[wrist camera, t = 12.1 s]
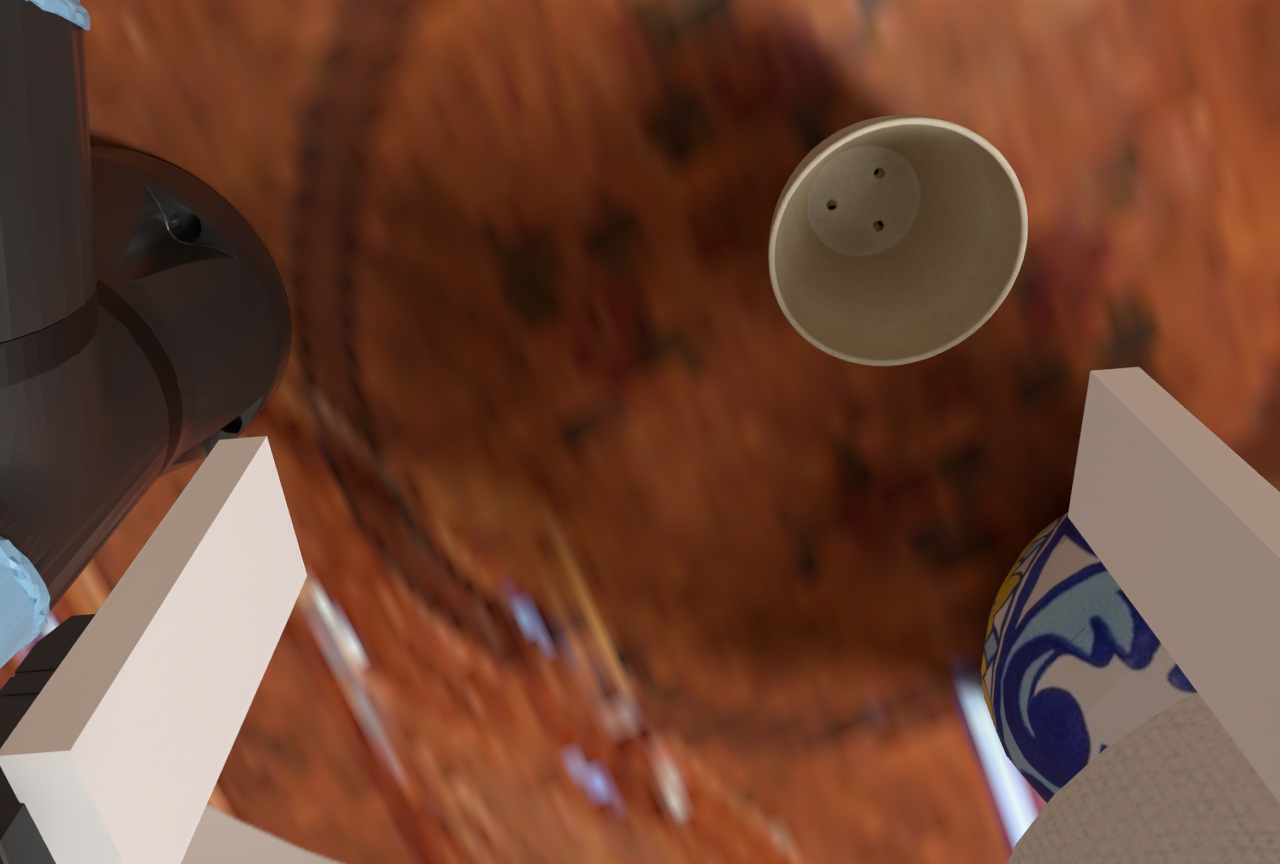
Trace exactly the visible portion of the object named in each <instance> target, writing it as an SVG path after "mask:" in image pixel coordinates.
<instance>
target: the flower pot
mask: <svg viewBox="0 0 1280 864" xmlns="http://www.w3.org/2000/svg"><path fill="white" fill-rule="evenodd" d="M876 169H879V170H878V173H877V174H876V175H875V174H874V173H875V170H876ZM831 205H835V206H836V207H835V208H834V209H829V208H828V207H829V206H831ZM878 221H881V222H882V224H883V226H880V225H879V224H878ZM1027 233H1028V218H1027V208H1026V203H1025V198H1024V194H1023V191H1022V188H1021V186H1020V183H1019V181H1018V178H1017V176H1016V174H1015V173H1014V171H1013V169H1012V168H1011V166H1010V165H1009V163H1008V162H1007V161H1006V159H1005V158H1004V157H1003V155H1002V154H1001V153H1000V152H999V151H998V150H997V149H996V148H995V147H994V146H993V145H991V144H990V143H989V142H988V141H987V140H985V139H984V138H982V137H981V136H979V135H978V134H976V133H975V132H973V131H971V130H969V129H967V128H965V127H963V126H960V125H957V124H955V123H952V122H948V121H945V120H941V119H937V118H933V117H927V116H919V115H889V116H881V117H876V118H871V119H867V120H864V121H860V122H857V123H855V124H852V125H850V126H847V127H845V128H843V129H841V130H839V131H837V132H836V133H834V134H832V135H831V136H829V137H828V138H826V139H825V140H823V141H822V142H821V143H820V144H818V145H817V146H816V147H815V148H813V149H812V150H811V151H810V152H809V153H808V154H807V155H806V156H805V158H804V159H803V160H802V161H801V162H800V163H799V165H798V166H797V167H796V169H795V170H794V171H793V173H792V174H791V176H790V177H789V179H788V181H787V183H786V184H785V186H784V188H783V190H782V192H781V195H780V197H779V200H778V202H777V205H776V208H775V211H774V215H773V218H772V223H771V228H770V235H769V246H768V261H769V272H770V279H771V283H772V287H773V291H774V294H775V296H776V299H777V302H778V304H779V306H780V308H781V310H782V312H783V313H784V315H785V316H786V318H787V319H788V321H789V322H790V323H791V325H792V326H793V327H794V328H795V330H796V331H797V332H798V333H799V334H800V335H801V336H802V337H803V338H805V339H806V340H807V341H808V342H810V343H811V344H812V345H814V346H815V347H817V348H818V349H820V350H822V351H823V352H826V353H828V354H829V355H832V356H834V357H837V358H839V359H842V360H845V361H848V362H852V363H857V364H862V365H871V366H895V365H903V364H908V363H913V362H917V361H920V360H924V359H927V358H930V357H932V356H935V355H937V354H940V353H942V352H944V351H946V350H948V349H950V348H952V347H953V346H955V345H957V344H959V343H960V342H962V341H963V340H965V339H966V338H968V337H969V336H970V335H972V334H973V333H974V332H975V331H977V330H978V329H979V328H980V327H981V326H982V325H983V324H984V323H985V322H986V321H987V320H988V319H989V318H990V317H991V316H992V315H993V313H994V312H995V311H996V310H997V309H998V307H999V306H1000V305H1001V304H1002V302H1003V301H1004V299H1005V298H1006V296H1007V295H1008V293H1009V291H1010V290H1011V288H1012V286H1013V284H1014V282H1015V280H1016V277H1017V275H1018V273H1019V270H1020V267H1021V264H1022V262H1023V258H1024V254H1025V250H1026V243H1027Z"/></svg>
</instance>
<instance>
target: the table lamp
mask: <svg viewBox="0 0 1280 864" xmlns="http://www.w3.org/2000/svg"><path fill="white" fill-rule="evenodd" d="M981 676H982V684H983V692H984V698H985V701H986V704H987V707H988V709H989V712H990V715H991V718H992V721H993V723H994V726H995V729H996V732H997V734H998V737H999V739H1000V741H1001V744H1002V746H1003V748H1004V751H1005V753H1006V755H1007V757H1008V758H1009V759H1010V760H1011V762H1012V763H1013V764H1014V765H1015V767H1016V768H1017V769H1018V770H1019V772H1020V773H1021V774H1022V775H1023V777H1024V778H1025V779H1026V780H1027V781H1028V782H1029V783H1030V785H1031V786H1032V787H1033V788H1034V789H1035V790H1036V791H1037V793H1038V794H1039V795H1040V796H1041V797H1042V798H1043V799H1044V801H1045V802H1046V803H1047V805H1046V806H1045V807H1044V809H1043V810H1042V811H1041V812H1040V814H1039V815H1038V816H1037V818H1036V819H1035V820H1034V822H1033V823H1032V824H1031V825H1030V827H1029V828H1028V829H1027V831H1026V832H1025V833H1024V835H1023V836H1022V837H1021V839H1020V840H1019V841H1018V842H1017V844H1016V846H1015V848H1014V850H1013V852H1012V854H1011V856H1010V858H1009V861H1008V863H1007V864H1280V803H1279V802H1278V800H1277V799H1276V798H1275V796H1274V795H1273V794H1272V792H1271V791H1270V789H1269V788H1268V787H1267V785H1266V784H1265V783H1264V781H1263V780H1262V779H1261V777H1260V776H1259V775H1258V773H1257V772H1256V771H1255V769H1254V768H1253V766H1252V765H1251V764H1250V762H1249V761H1248V760H1247V758H1246V757H1245V756H1244V754H1243V753H1242V752H1241V750H1240V749H1239V747H1238V746H1237V745H1236V743H1235V742H1234V741H1233V739H1232V738H1231V737H1230V735H1229V734H1228V733H1227V731H1226V730H1225V729H1224V727H1223V726H1222V724H1221V723H1220V722H1219V720H1218V719H1217V718H1216V716H1215V715H1214V714H1213V712H1212V711H1211V710H1210V708H1209V707H1208V706H1207V704H1206V703H1205V701H1204V700H1203V699H1202V697H1201V696H1200V695H1199V693H1198V692H1197V691H1196V689H1195V688H1194V687H1193V685H1192V684H1191V683H1190V681H1189V680H1188V678H1187V677H1186V676H1185V674H1184V673H1183V672H1182V670H1181V669H1180V668H1179V666H1178V665H1177V664H1176V662H1175V661H1174V659H1173V658H1172V657H1171V655H1170V654H1169V653H1168V651H1167V650H1166V649H1165V647H1164V646H1163V645H1162V643H1161V642H1160V641H1159V639H1158V638H1157V636H1156V635H1155V634H1154V632H1153V631H1152V630H1151V628H1150V627H1149V626H1148V624H1147V623H1146V622H1145V620H1144V619H1143V618H1142V616H1141V615H1140V613H1139V612H1138V611H1137V609H1136V608H1135V607H1134V605H1133V604H1132V603H1131V601H1130V600H1129V599H1128V597H1127V596H1126V595H1125V593H1124V592H1123V590H1122V589H1121V588H1120V586H1119V585H1118V584H1117V582H1116V581H1115V580H1114V578H1113V577H1112V576H1111V574H1110V573H1109V572H1108V570H1107V569H1106V567H1105V566H1104V565H1103V563H1102V562H1101V561H1100V559H1099V558H1098V557H1097V555H1096V554H1095V553H1094V551H1093V550H1092V548H1091V547H1090V546H1089V544H1088V543H1087V542H1086V540H1085V539H1084V538H1083V536H1082V535H1081V534H1080V532H1079V531H1078V530H1077V528H1076V527H1075V525H1074V524H1073V523H1072V521H1071V520H1070V519H1069V517H1068V512H1067V513H1066V514H1064V515H1062V516H1060V517H1059V518H1058V519H1056V520H1055V521H1054V522H1052V523H1051V524H1050V525H1049V526H1047V527H1046V528H1045V529H1043V530H1042V531H1041V532H1040V533H1039V534H1038V535H1037V536H1036V537H1035V538H1034V539H1033V540H1032V541H1031V542H1030V543H1029V544H1028V546H1027V547H1026V548H1025V549H1024V550H1023V551H1022V553H1021V554H1020V556H1019V557H1018V559H1017V561H1016V562H1015V564H1014V565H1013V567H1012V568H1011V570H1010V572H1009V574H1008V575H1007V577H1006V579H1005V581H1004V582H1003V584H1002V586H1001V588H1000V589H999V592H998V594H997V597H996V599H995V602H994V605H993V607H992V610H991V612H990V615H989V621H988V627H987V633H986V640H985V646H984V653H983V660H982V668H981Z"/></svg>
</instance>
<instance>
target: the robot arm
mask: <svg viewBox="0 0 1280 864" xmlns="http://www.w3.org/2000/svg"><path fill="white" fill-rule="evenodd" d="M84 30H90V16H89V14H88V11H87V10H86V9H85V8H84V7H83V6H82V5H81V3H80V0H0V668H1V667H2V666H3V665H4V664H5V663H6V662H7V661H8V660H9V659H10V658H11V657H12V656H13V655H14V654H16V653H17V652H18V651H19V650H20V649H21V648H22V647H23V646H25V645H27V644H28V643H30V642H31V641H32V640H33V639H34V638H36V637H37V636H38V634H39V633H40V631H41V630H42V629H43V627H44V626H45V625H46V624H47V623H48V622H47V620H46V618H47V617H48V616H49V615H50V611H51V610H52V609H53V608H54V606H55V605H56V604H57V603H58V601H59V600H60V599H61V598H62V596H63V595H64V594H65V593H66V591H67V590H68V589H69V588H70V586H71V585H72V584H73V583H74V581H75V580H76V579H77V578H78V576H79V575H80V574H81V573H82V571H83V570H84V569H85V568H86V566H87V565H88V564H89V563H90V562H91V560H92V559H93V558H94V557H95V555H96V554H97V553H98V552H99V550H100V549H101V548H102V547H103V545H104V544H105V543H106V542H107V540H108V539H109V538H110V537H111V535H112V534H113V533H114V532H115V530H116V529H117V528H118V527H119V525H120V524H121V523H122V522H123V520H124V519H125V518H126V517H127V515H128V514H129V513H130V512H131V510H132V509H133V508H134V507H135V505H136V504H137V503H138V502H139V500H140V499H141V498H142V497H143V495H144V494H145V493H146V492H147V490H148V489H149V488H150V487H151V485H152V484H153V483H154V482H155V481H156V479H157V478H159V477H161V476H163V475H166V474H168V473H170V472H173V471H175V470H177V469H180V468H182V467H184V466H187V465H189V464H191V463H194V462H196V461H198V460H201V459H203V458H205V457H207V458H206V459H205V461H204V462H203V464H202V465H201V466H200V468H199V469H198V471H197V472H196V473H195V475H194V476H193V478H192V479H191V480H190V482H189V483H188V485H187V486H186V488H185V489H184V490H183V492H182V493H181V495H180V496H179V497H178V499H177V500H176V502H175V503H174V504H173V506H172V507H171V509H170V510H169V512H168V513H167V514H166V516H165V517H164V519H163V520H162V521H161V523H160V524H159V526H158V527H157V528H156V530H155V531H154V533H153V534H152V536H151V537H150V538H149V540H148V541H147V543H146V544H145V545H144V547H143V548H142V550H141V551H140V552H139V554H138V555H137V557H136V558H135V560H134V561H133V562H132V564H131V565H130V567H129V568H128V569H127V571H126V572H125V574H124V575H123V576H122V578H121V579H120V581H119V582H118V584H117V585H116V586H115V588H114V589H113V591H112V592H111V593H110V595H109V596H108V598H107V599H106V600H105V602H104V603H103V605H102V606H101V608H100V609H99V610H98V612H97V613H96V614H90V615H77V616H71V617H70V618H68V619H67V620H66V621H64V622H63V623H62V624H60V625H59V626H58V627H57V628H55V629H54V630H53V631H51V632H50V633H49V634H47V635H46V636H45V637H44V638H42V639H41V640H40V641H38V642H37V643H36V644H35V646H34V647H33V648H32V650H31V651H30V652H29V654H28V655H27V656H26V658H25V659H24V660H23V662H22V663H21V664H20V666H19V667H18V668H17V669H16V671H15V677H10V679H9V680H8V681H7V683H6V684H5V685H4V687H3V688H2V689H1V691H0V864H181V862H182V859H183V857H184V855H185V853H186V850H187V848H188V846H189V844H190V841H191V839H192V837H193V834H194V832H195V830H196V828H197V825H198V823H199V821H200V819H201V816H202V814H203V812H204V809H205V807H206V805H207V803H208V800H209V798H210V796H211V793H212V791H213V789H214V787H215V784H216V782H217V780H218V778H219V775H220V773H221V771H222V768H223V766H224V764H225V762H226V759H227V757H228V755H229V752H230V750H231V748H232V746H233V743H234V741H235V739H236V737H237V734H238V732H239V730H240V727H241V725H242V723H243V721H244V718H245V716H246V714H247V711H248V709H249V707H250V705H251V702H252V700H253V698H254V696H255V693H256V691H257V689H258V686H259V684H260V682H261V680H262V677H263V675H264V673H265V670H266V668H267V666H268V664H269V661H270V659H271V657H272V655H273V652H274V650H275V648H276V645H277V643H278V641H279V639H280V636H281V634H282V632H283V629H284V627H285V625H286V623H287V620H288V618H289V616H290V614H291V611H292V609H293V607H294V604H295V602H296V600H297V598H298V595H299V593H300V591H301V588H302V586H303V584H304V582H305V579H306V577H307V574H306V570H305V567H304V563H303V560H302V556H301V553H300V549H299V546H298V542H297V539H296V535H295V532H294V528H293V525H292V522H291V518H290V515H289V511H288V508H287V504H286V501H285V497H284V494H283V490H282V487H281V483H280V480H279V476H278V473H277V469H276V466H275V462H274V459H273V456H272V452H271V449H270V445H269V442H268V438H267V436H262V437H250V438H238V437H239V436H240V435H241V434H242V433H243V432H244V431H245V430H247V429H248V427H249V426H250V425H251V424H252V423H253V422H254V421H255V419H256V418H257V417H258V415H259V414H260V413H261V411H262V410H263V409H264V407H265V406H266V405H267V403H268V402H269V400H270V399H271V398H272V396H273V394H274V393H275V391H276V390H277V388H278V386H279V384H280V382H281V380H282V377H283V375H284V372H285V369H286V366H287V362H288V358H289V353H290V345H291V318H290V311H289V305H288V300H287V296H286V292H285V289H284V286H283V283H282V280H281V278H280V275H279V273H278V270H277V268H276V266H275V264H274V262H273V260H272V258H271V256H270V254H269V253H268V251H267V249H266V248H265V246H264V244H263V243H262V241H261V240H260V238H259V237H258V236H257V234H256V233H255V232H254V230H253V229H252V228H251V227H250V225H249V224H248V223H247V222H246V221H245V219H244V218H243V217H242V216H241V215H240V214H239V213H238V212H237V211H236V210H235V209H234V208H233V207H232V206H231V205H230V204H229V203H228V202H227V201H226V200H225V199H223V198H222V197H221V196H220V195H219V194H217V193H216V192H215V191H214V190H212V189H211V188H210V187H208V186H207V185H205V184H204V183H203V182H201V181H200V180H198V179H196V178H195V177H193V176H192V175H190V174H188V173H186V172H185V171H183V170H181V169H179V168H177V167H175V166H173V165H171V164H169V163H167V162H164V161H162V160H159V159H157V158H154V157H152V156H149V155H145V154H142V153H139V152H135V151H131V150H128V149H123V148H117V147H111V146H102V145H90V134H89V116H88V98H87V80H86V62H85V44H84ZM236 438H237V439H236ZM1068 517H1069V519H1070V520H1071V521H1072V523H1073V524H1074V525H1075V527H1076V528H1077V530H1078V531H1079V532H1080V534H1081V535H1082V536H1083V538H1084V539H1085V540H1086V542H1087V543H1088V544H1089V546H1090V547H1091V548H1092V550H1093V551H1094V553H1095V554H1096V555H1097V557H1098V558H1099V559H1100V561H1101V562H1102V563H1103V565H1104V566H1105V567H1106V569H1107V570H1108V572H1109V573H1110V574H1111V576H1112V577H1113V578H1114V580H1115V581H1116V582H1117V584H1118V585H1119V586H1120V588H1121V589H1122V590H1123V592H1124V593H1125V595H1126V596H1127V597H1128V599H1129V600H1130V601H1131V603H1132V604H1133V605H1134V607H1135V608H1136V609H1137V611H1138V612H1139V613H1140V615H1141V616H1142V618H1143V619H1144V620H1145V622H1146V623H1147V624H1148V626H1149V627H1150V628H1151V630H1152V631H1153V632H1154V634H1155V635H1156V636H1157V638H1158V639H1159V641H1160V642H1161V643H1162V645H1163V646H1164V647H1165V649H1166V650H1167V651H1168V653H1169V654H1170V655H1171V657H1172V658H1173V659H1174V661H1175V662H1176V664H1177V665H1178V666H1179V668H1180V669H1181V670H1182V672H1183V673H1184V674H1185V676H1186V677H1187V678H1188V680H1189V681H1190V683H1191V684H1192V685H1193V687H1194V688H1195V689H1196V691H1197V692H1198V693H1199V695H1200V696H1201V697H1202V699H1203V700H1204V701H1205V703H1206V704H1207V706H1208V707H1209V708H1210V710H1211V711H1212V712H1213V714H1214V715H1215V716H1216V718H1217V719H1218V720H1219V722H1220V723H1221V724H1222V726H1223V727H1224V729H1225V730H1226V731H1227V733H1228V734H1229V735H1230V737H1231V738H1232V739H1233V741H1234V742H1235V743H1236V745H1237V746H1238V747H1239V749H1240V750H1241V752H1242V753H1243V754H1244V756H1245V757H1246V758H1247V760H1248V761H1249V762H1250V764H1251V765H1252V766H1253V768H1254V769H1255V771H1256V772H1257V773H1258V775H1259V776H1260V777H1261V779H1262V780H1263V781H1264V783H1265V784H1266V785H1267V787H1268V788H1269V789H1270V791H1271V792H1272V794H1273V795H1274V796H1275V798H1276V799H1277V800H1278V802H1279V803H1280V492H1279V491H1277V490H1276V489H1275V488H1274V487H1273V486H1272V485H1271V484H1270V483H1269V482H1267V481H1266V480H1265V479H1264V478H1263V477H1262V476H1261V475H1260V474H1258V473H1257V472H1256V471H1255V470H1254V469H1253V468H1252V467H1251V466H1249V465H1248V464H1247V463H1246V462H1245V461H1244V460H1243V459H1242V458H1240V457H1239V456H1238V455H1237V454H1236V453H1235V452H1234V451H1233V450H1231V449H1230V448H1229V447H1228V446H1227V445H1226V444H1225V443H1224V442H1223V441H1221V440H1220V439H1219V438H1218V437H1217V436H1216V435H1215V434H1214V433H1212V432H1211V431H1210V430H1209V429H1208V428H1207V427H1206V426H1205V425H1203V424H1202V423H1201V422H1200V421H1199V420H1198V419H1197V418H1196V417H1194V416H1193V415H1192V414H1191V413H1190V412H1189V411H1188V410H1187V409H1186V408H1184V407H1183V406H1182V405H1181V404H1180V403H1179V402H1178V401H1177V400H1175V399H1174V398H1173V397H1172V396H1171V395H1170V394H1169V393H1168V392H1166V391H1165V390H1164V389H1163V388H1162V387H1161V386H1160V385H1159V384H1157V383H1156V382H1155V381H1154V380H1153V379H1152V378H1151V377H1150V376H1149V375H1147V374H1146V373H1145V372H1144V371H1143V370H1142V369H1141V368H1140V367H1132V368H1119V369H1107V370H1094V371H1090V377H1089V383H1088V390H1087V396H1086V403H1085V409H1084V416H1083V422H1082V428H1081V435H1080V441H1079V448H1078V454H1077V461H1076V467H1075V473H1074V480H1073V486H1072V493H1071V499H1070V506H1069V512H1068Z"/></svg>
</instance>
